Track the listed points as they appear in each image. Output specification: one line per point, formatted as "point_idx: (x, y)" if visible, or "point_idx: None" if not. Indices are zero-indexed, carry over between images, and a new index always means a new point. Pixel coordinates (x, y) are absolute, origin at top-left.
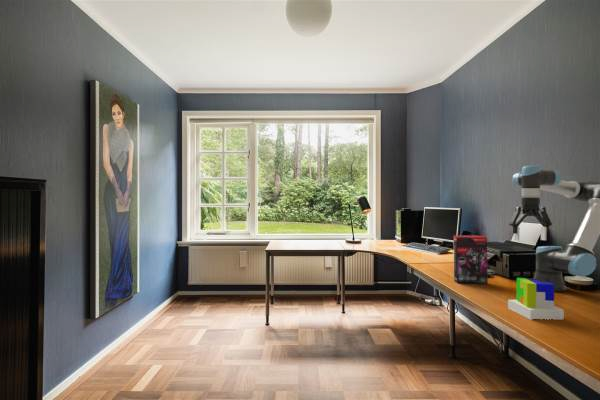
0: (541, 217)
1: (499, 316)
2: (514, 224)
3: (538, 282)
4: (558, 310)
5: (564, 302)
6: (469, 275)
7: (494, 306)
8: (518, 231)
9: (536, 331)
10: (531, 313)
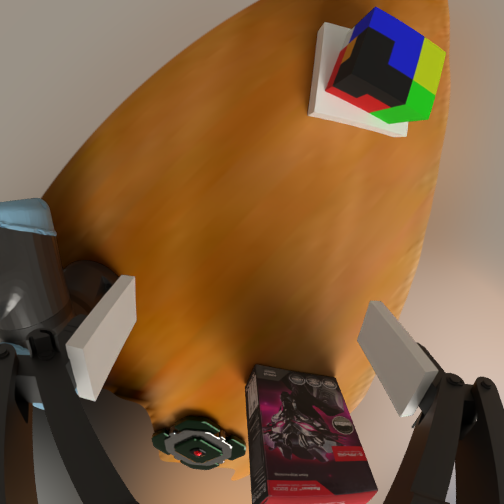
0: (81, 477)
1: (447, 100)
2: (477, 386)
3: (405, 43)
4: (339, 27)
5: (167, 152)
6: (310, 388)
7: (412, 162)
8: (412, 344)
9: (430, 18)
10: None
